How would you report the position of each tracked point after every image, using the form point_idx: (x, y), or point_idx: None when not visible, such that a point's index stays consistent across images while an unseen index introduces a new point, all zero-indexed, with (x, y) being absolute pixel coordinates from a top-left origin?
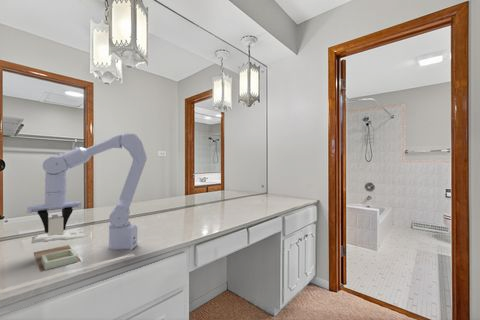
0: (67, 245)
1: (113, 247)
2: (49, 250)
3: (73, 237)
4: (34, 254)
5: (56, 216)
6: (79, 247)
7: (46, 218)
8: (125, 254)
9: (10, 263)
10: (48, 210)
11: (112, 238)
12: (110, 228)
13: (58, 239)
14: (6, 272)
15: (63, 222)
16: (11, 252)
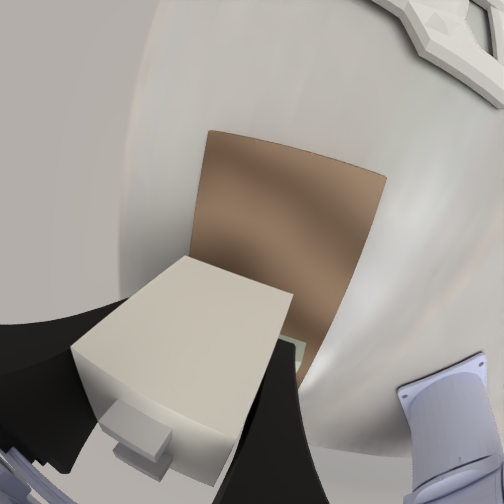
0: (379, 180)
1: (410, 421)
2: (272, 176)
3: (465, 73)
4: (201, 175)
5: (146, 467)
6: (416, 234)
7: (79, 430)
8: (397, 438)
9: (136, 167)
10: (35, 469)
11: (412, 449)
12: (418, 481)
13: (391, 8)
14: (122, 255)
15: (241, 436)
16: (175, 9)
